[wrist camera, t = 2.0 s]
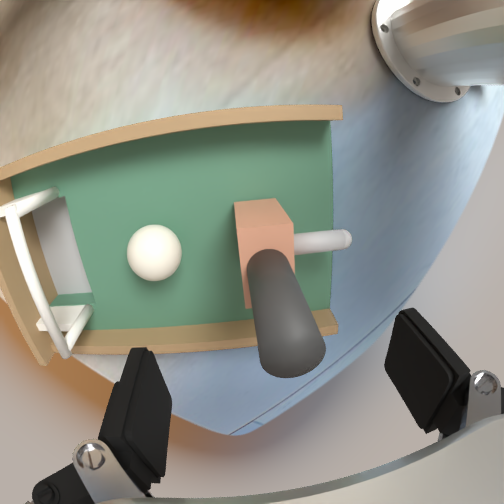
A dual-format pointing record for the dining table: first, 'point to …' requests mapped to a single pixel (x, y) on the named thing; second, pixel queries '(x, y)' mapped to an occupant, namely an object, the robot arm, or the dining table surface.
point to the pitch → (166, 214)
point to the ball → (154, 252)
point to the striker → (280, 285)
